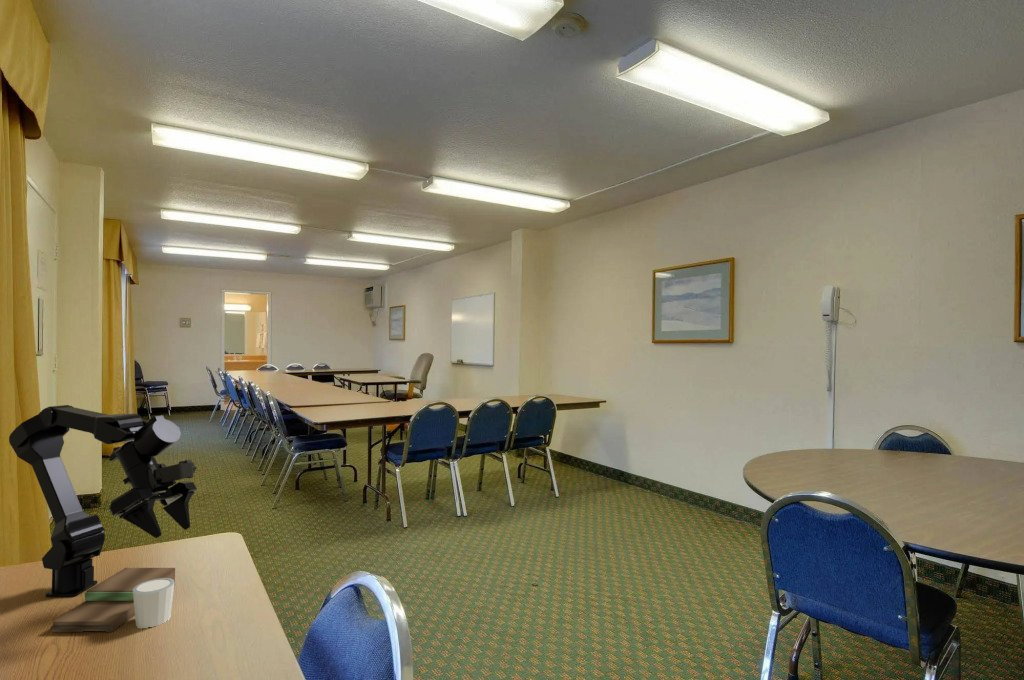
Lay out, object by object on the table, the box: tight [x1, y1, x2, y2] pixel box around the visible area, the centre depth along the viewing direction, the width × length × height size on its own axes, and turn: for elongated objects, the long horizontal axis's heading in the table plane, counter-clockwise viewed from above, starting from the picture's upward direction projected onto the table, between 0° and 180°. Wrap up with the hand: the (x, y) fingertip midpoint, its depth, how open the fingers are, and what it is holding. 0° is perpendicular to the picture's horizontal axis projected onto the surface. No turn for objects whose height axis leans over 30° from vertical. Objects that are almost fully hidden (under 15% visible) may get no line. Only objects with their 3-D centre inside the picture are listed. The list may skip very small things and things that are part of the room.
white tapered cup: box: [133, 578, 176, 629], centre depth 102 cm, size 7×7×7 cm
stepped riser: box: [50, 567, 176, 633], centre depth 107 cm, size 11×19×4 cm, turn 2°
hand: (174, 532), depth 107 cm, fingers open, 9 cm apart
